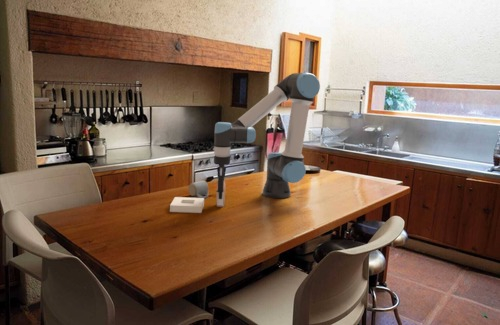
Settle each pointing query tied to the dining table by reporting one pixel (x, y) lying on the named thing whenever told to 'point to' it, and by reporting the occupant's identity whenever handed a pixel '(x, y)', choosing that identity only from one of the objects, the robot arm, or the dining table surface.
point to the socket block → (187, 205)
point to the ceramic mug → (198, 189)
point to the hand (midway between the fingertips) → (220, 203)
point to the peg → (223, 195)
